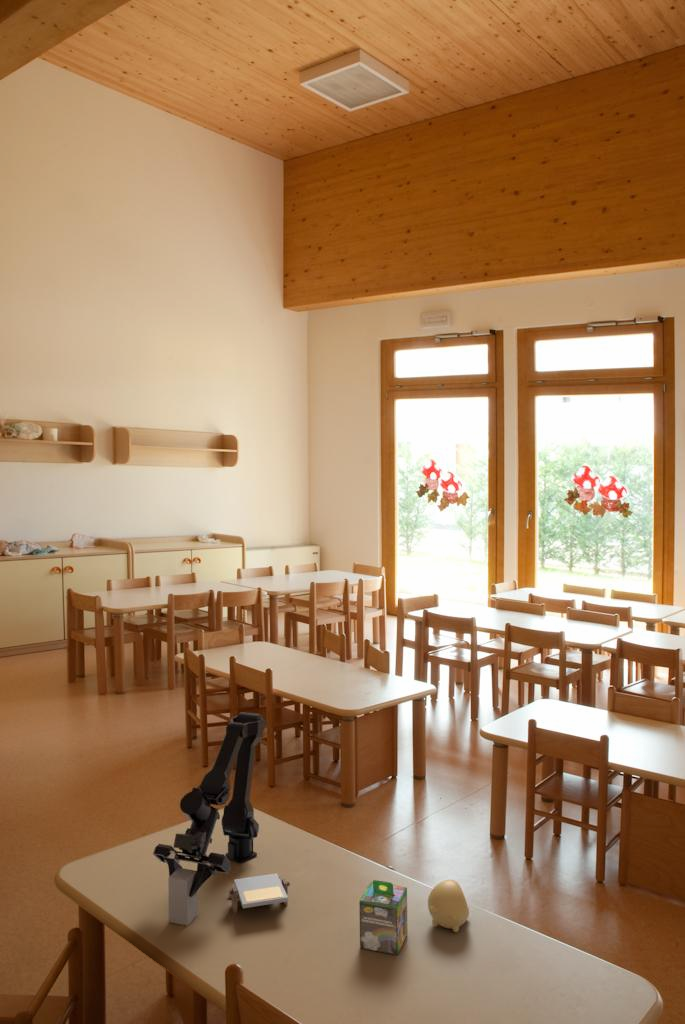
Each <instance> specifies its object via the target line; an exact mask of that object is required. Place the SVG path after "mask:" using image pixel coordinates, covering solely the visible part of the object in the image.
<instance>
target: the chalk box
mask: <svg viewBox="0 0 685 1024" xmlns="http://www.w3.org/2000/svg"><path fill="white" fill-rule="evenodd" d="M358 904H359V905H358V906H359V948H360V949H365V950H369V951H370V950H371V951H374V952H379V953H384V954H388V953H389V955H392V954H394V956H398V954H399V952H400V951H401V949H402V947H403V944H404V942H405V940H406V938H407V935H408V888H407V886H402V885H401V886H400V885H396V884H393V883H392V882H389V881H383V880H377V879H373V880H372V882H370V883H369V885H368V886H367V887H366V889H365V891H364V892H363V894H362V896H361V898H360V900H359V903H358Z"/></svg>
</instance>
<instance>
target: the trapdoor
mask: <svg viewBox="0 0 685 1024" xmlns="http://www.w3.org/2000/svg"><path fill="white" fill-rule="evenodd" d="M233 881H234V882H233V885H235V886H236V889H237V893H238V896H239V897H238V898H239V899H238V900H239V901H240V903H241V907H242V909H246V908H247V909H248V908H254V907H260V906H265V905H272V904H280V903H283V902H287V901H289V897H288V896H287V894H286V892H285V890H284V887H283V885H282V880H281V879H280V876H279V875H278V873H276V872H275V873H271V874H270V873H268V874H263V875H255V876H249V877H244V878H243V877H242V878H236V879H234V880H233Z"/></svg>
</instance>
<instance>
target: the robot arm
mask: <svg viewBox="0 0 685 1024" xmlns="http://www.w3.org/2000/svg"><path fill="white" fill-rule="evenodd" d="M266 724H267V722H266V719H265V718H264V716H263V715H262V714H260V713H252V712H245V711H244V712H243V711H242V712H239V713H238V715H235V716H234V717H231V718H230V722H228V723H227V725H226V728H225V736H224V738H223V740H222V744H221V746H220V749H219V752H218V754H217V756H216V759H215V761H214V764H213V767H212V768H211V770H209V771H208V772H207V773H206V774H205V775H204V776H203V778H202V781H201V783H200V784H199V785H198V786H197V787H193V788H192V790H191V791H190V792H188V793H185V795H184V796H183V797H182V798H181V799H180V803H179V808H180V811H181V812H182V813H183V814H184V815H185V817H187V818H188V820H189V821H190V822H191V824H190V827H189V828H186V830H185V833H175V836H174V842H173V846H172V845H170V844H169V845H168V844H163V843H158V844H157V845H156V846H155V847H154V850H153V852H152V855H153V856H155V858H156V859H158V860H159V861H160V862H162V863H164V864H165V863H166V864H167V867H168V878H169V877H170V876H171V875H172V874H173V873H174V872H175V871H176V870H177V869H178V868H183V866H182V865H180V862H181V861H183V862H188V863H194V864H197V866H196V867H197V868H196V871H197V873H196V876H195V878H194V881H193V884H192V887H191V890H190V894H189V896H190V897H193V895H194V894H195V893H196V892H197V893H198V890H199V889H200V888H201V887H202V886H203V884H204V883H206V881H207V880H208V879H210V877H211V876H215V875H216V874H217V872H218V873H222V874H229V873H230V869H231V861H230V860H233V861H234V862H237V863H239V864H241V863H243V862H245V861H248V860H250V859H252V858H254V857H257V856H258V853H257V852H255V851H254V839H255V838H257V837H258V834H259V830H260V824H259V823H258V822H257V820H256V819H255V817H254V816H255V815H254V813H255V812H254V811H255V809H254V808H253V805H252V802H251V800H250V797H251V788H252V779H253V772H254V763H255V753H256V747H257V745H258V744H259V742H260V741H261V739H262V738H263V736H264V735H263V734H264V731H265V729H266V726H267V725H266ZM235 762H236V763H235ZM234 765H235V771H234V777H233V778H234V781H233V787H232V785H231V782H230V776H231V774H232V771H233V768H234ZM231 788H233V789H232V795H231ZM230 797H231V800H230V801H229V798H230ZM228 801H229V802H228ZM227 802H228V803H227ZM226 803H227V804H226ZM212 805H214V806H223V805H225V806H224V807H223V815H222V817H220V813H219V809H218V808H217V807H214V806H212ZM220 819H221V827H222V828H221V829H222V832H223V835H224V836H225V837H226V836H228V842H227V852H226V853H224V854H222V853H216V852H210V853H209V854H208V855H207V851H208V848H209V845H210V844H212V843H213V838H212V835H213V832H214V829H215V826H216V823H217V820H220ZM176 849H178V850H180V851H178V850H176ZM229 859H230V860H229Z"/></svg>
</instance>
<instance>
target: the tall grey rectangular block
mask: <svg viewBox="0 0 685 1024" xmlns="http://www.w3.org/2000/svg"><path fill="white" fill-rule="evenodd" d="M196 873H197V870H194V869H188V868H183V867H182V868H178V869H177V870H176V871H175V872H174V873H173V874H172V875H171V876H170V877H169V876H168V880H167V881H168V922H169V923H172V924H178V925H182V926H186V927H187V926H188V927H189V925H190V924H192V922H193V921H194V919H196V917H197V916H198V914H199V913H198V909H199V908H198V907H199V905H198V898H199V897H198V891H197V892H196V893H195V894H194V895H193V897H190V896H189V894H190V890H191V887H192V884H193V881H194V878H195V876H196Z"/></svg>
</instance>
